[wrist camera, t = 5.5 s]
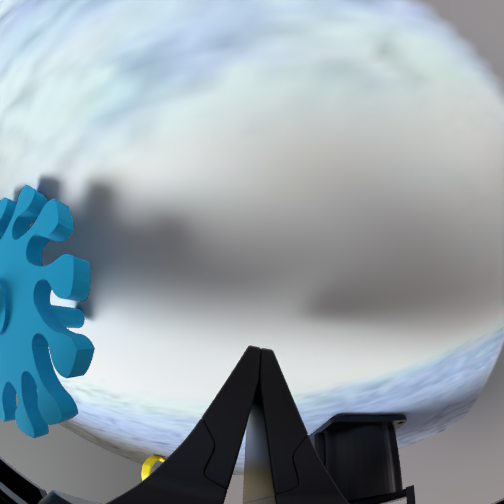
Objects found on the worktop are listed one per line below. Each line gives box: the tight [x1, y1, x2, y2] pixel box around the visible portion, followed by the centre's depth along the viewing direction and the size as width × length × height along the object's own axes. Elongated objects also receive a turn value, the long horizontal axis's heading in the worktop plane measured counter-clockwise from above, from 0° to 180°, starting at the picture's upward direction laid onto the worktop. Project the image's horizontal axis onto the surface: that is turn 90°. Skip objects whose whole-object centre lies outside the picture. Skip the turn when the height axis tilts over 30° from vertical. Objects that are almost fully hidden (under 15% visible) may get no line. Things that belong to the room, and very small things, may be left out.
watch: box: [141, 455, 166, 481], centre depth 25 cm, size 6×3×6 cm, turn 18°
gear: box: [0, 185, 95, 438], centre depth 9 cm, size 11×6×10 cm
